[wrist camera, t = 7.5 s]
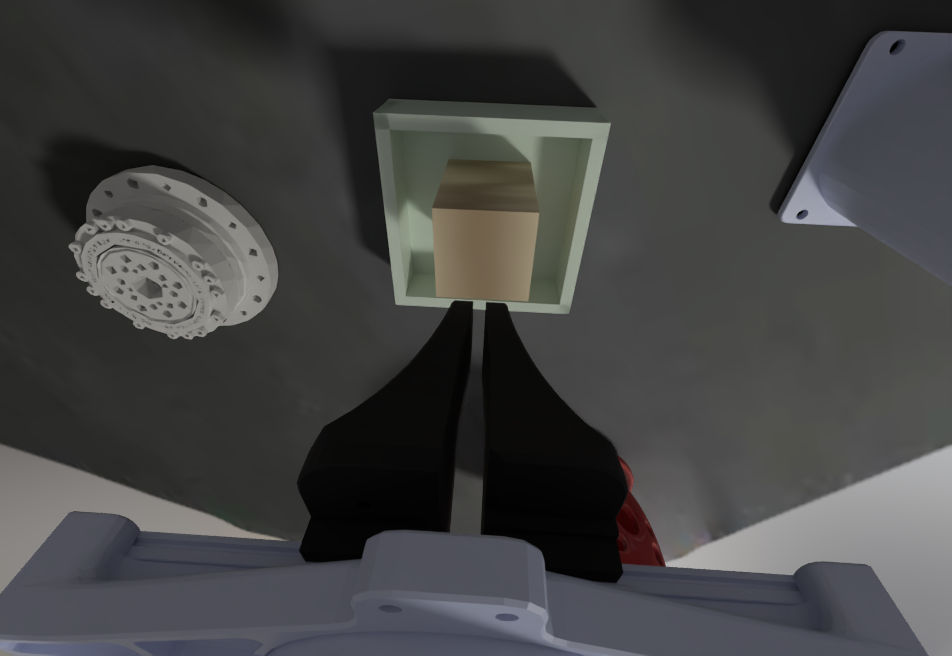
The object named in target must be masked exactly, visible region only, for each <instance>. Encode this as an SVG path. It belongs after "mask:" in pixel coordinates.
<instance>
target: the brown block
mask: <svg viewBox="0 0 952 656" xmlns="http://www.w3.org/2000/svg"><path fill="white" fill-rule="evenodd" d="M538 221H539V207H538V201H537V195H536V190H535V184H534V178H533V172H532V166H531V162H510V161H485V160H459V159H449V160H448V162H447V165H446V168H445V171H444V174H443V177H442V180H441V183H440V186H439V189H438V192H437V195H436V198H435V201H434V203H433V206H432V222H433V243H434V263H435V283H436V297H451V298H471V299H492V300H513V301H528V299H529V291H530V284H531V276H532V268H533V260H534V252H535V244H536V237H537V229H538Z"/></svg>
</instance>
